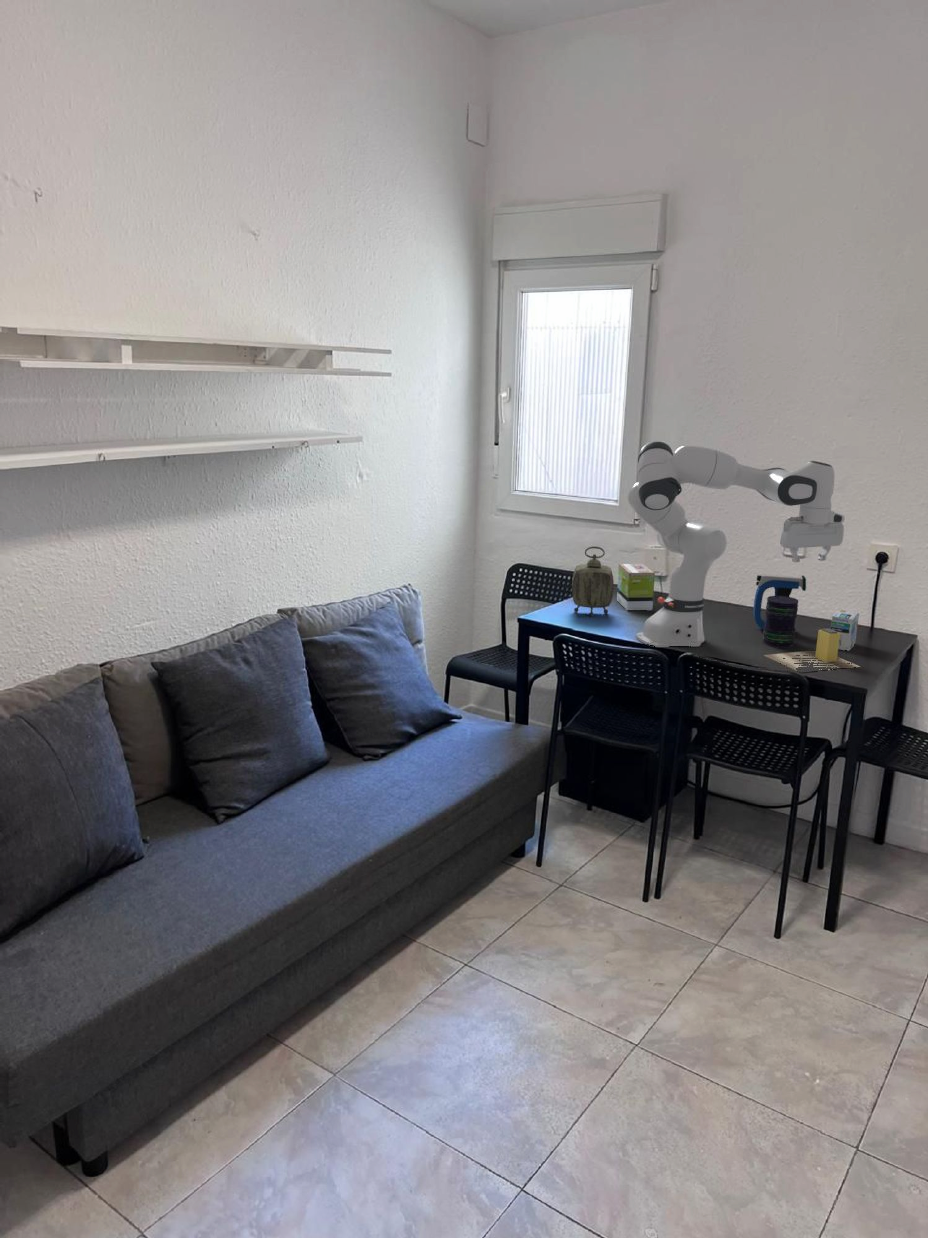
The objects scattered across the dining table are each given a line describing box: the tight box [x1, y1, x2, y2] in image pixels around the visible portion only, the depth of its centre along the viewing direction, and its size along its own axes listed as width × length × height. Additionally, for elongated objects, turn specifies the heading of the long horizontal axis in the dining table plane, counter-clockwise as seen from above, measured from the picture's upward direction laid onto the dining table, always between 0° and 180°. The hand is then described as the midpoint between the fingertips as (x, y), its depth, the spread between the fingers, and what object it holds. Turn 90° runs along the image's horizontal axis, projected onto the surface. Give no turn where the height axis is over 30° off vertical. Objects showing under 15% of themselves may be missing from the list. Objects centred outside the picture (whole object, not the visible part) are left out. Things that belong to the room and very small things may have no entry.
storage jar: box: [762, 595, 799, 649], centre depth 307 cm, size 10×10×15 cm
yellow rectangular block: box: [815, 627, 840, 662], centre depth 291 cm, size 4×5×9 cm
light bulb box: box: [830, 609, 860, 652], centre depth 306 cm, size 11×7×11 cm, turn 148°
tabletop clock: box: [571, 546, 615, 617], centre depth 335 cm, size 14×9×25 cm, turn 84°
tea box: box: [616, 563, 656, 611], centre depth 350 cm, size 15×10×15 cm
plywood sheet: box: [763, 650, 861, 672], centre depth 291 cm, size 22×18×1 cm
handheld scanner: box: [752, 574, 807, 631], centre depth 321 cm, size 5×16×20 cm, turn 78°
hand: (808, 561), depth 285 cm, fingers open, 8 cm apart
